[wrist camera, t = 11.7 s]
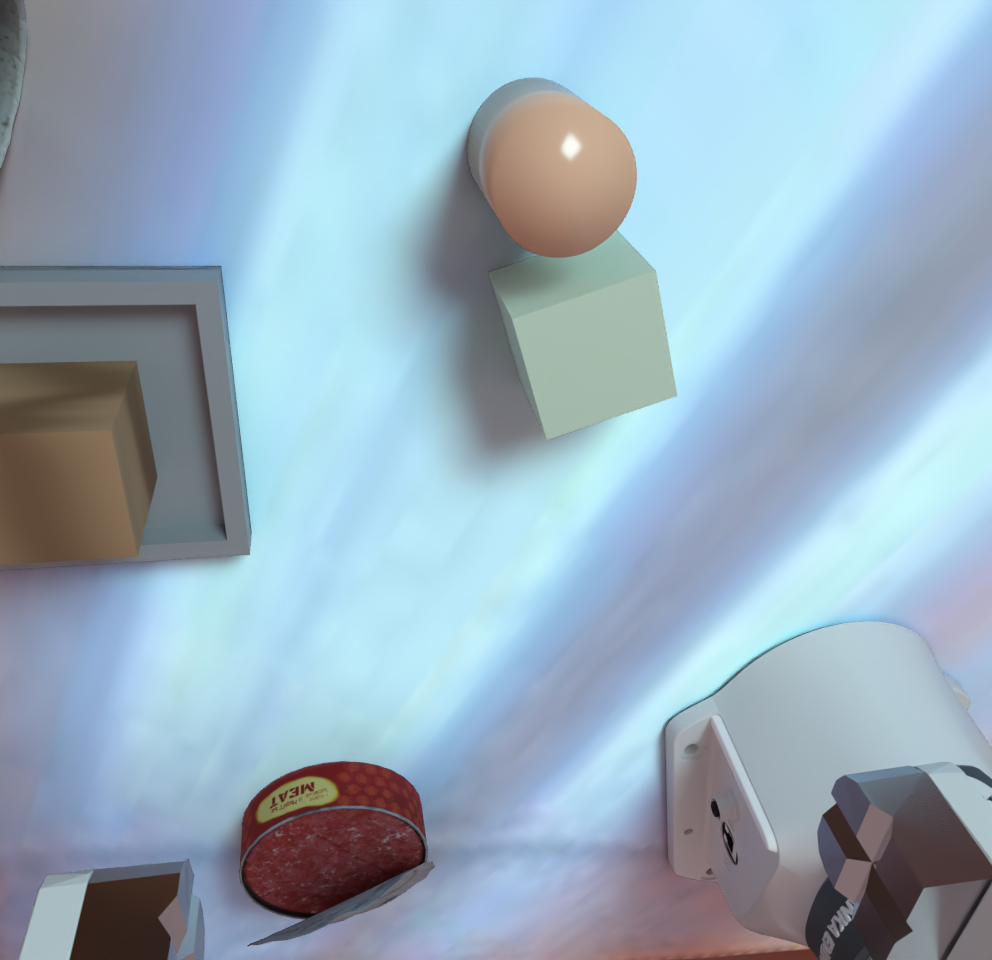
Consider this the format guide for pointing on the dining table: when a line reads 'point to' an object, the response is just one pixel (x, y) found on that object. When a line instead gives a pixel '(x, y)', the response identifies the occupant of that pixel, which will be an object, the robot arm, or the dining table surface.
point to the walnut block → (73, 461)
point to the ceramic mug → (11, 66)
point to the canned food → (332, 844)
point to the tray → (149, 386)
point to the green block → (586, 334)
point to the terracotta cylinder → (551, 167)
